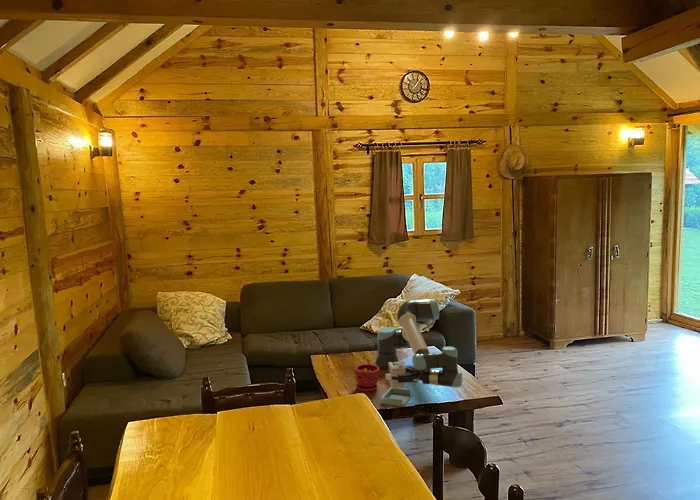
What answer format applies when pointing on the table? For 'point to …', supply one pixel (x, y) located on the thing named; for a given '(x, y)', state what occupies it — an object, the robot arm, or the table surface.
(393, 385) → the light bulb box
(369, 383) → the plant pot
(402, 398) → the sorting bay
